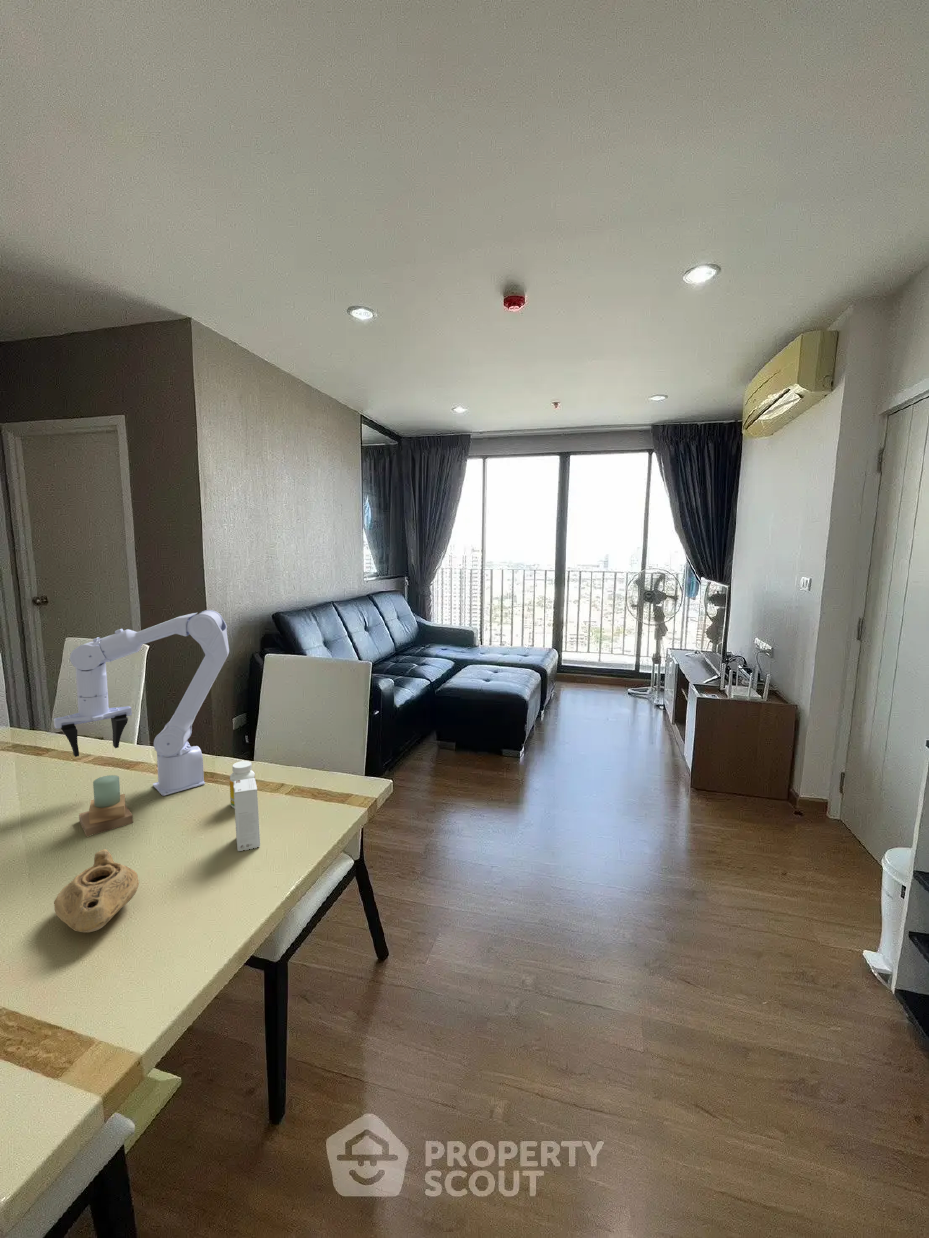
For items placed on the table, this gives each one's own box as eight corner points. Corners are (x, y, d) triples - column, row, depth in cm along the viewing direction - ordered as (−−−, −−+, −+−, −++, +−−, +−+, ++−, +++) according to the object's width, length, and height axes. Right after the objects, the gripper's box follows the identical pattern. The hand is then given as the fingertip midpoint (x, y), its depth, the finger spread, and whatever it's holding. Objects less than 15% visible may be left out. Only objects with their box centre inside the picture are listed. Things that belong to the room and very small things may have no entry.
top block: (125, 804, 112) (124, 793, 112) (124, 816, 107) (124, 805, 107) (91, 811, 109) (90, 800, 109) (89, 824, 104) (88, 812, 104)
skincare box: (260, 847, 100) (259, 789, 99) (235, 852, 99) (234, 793, 97) (258, 832, 106) (257, 776, 104) (234, 836, 104) (232, 780, 103)
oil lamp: (57, 962, 72) (53, 909, 71) (54, 904, 83) (50, 859, 82) (148, 927, 79) (145, 879, 78) (133, 879, 90) (131, 836, 89)
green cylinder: (124, 796, 111) (123, 775, 110) (113, 807, 106) (112, 784, 105) (102, 797, 110) (100, 775, 109) (89, 807, 106) (88, 785, 105)
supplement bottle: (236, 798, 120) (235, 759, 119) (259, 798, 120) (258, 759, 119) (226, 809, 115) (225, 768, 114) (250, 809, 115) (249, 769, 114)
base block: (124, 812, 114) (123, 801, 114) (133, 826, 108) (132, 815, 108) (79, 824, 108) (78, 813, 108) (86, 840, 103) (86, 828, 102)
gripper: (56, 704, 110) (60, 764, 112) (134, 692, 120) (137, 747, 122) (50, 697, 115) (54, 755, 116) (125, 686, 125) (128, 739, 127)
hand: (96, 750), depth 119 cm, fingers open, 7 cm apart
